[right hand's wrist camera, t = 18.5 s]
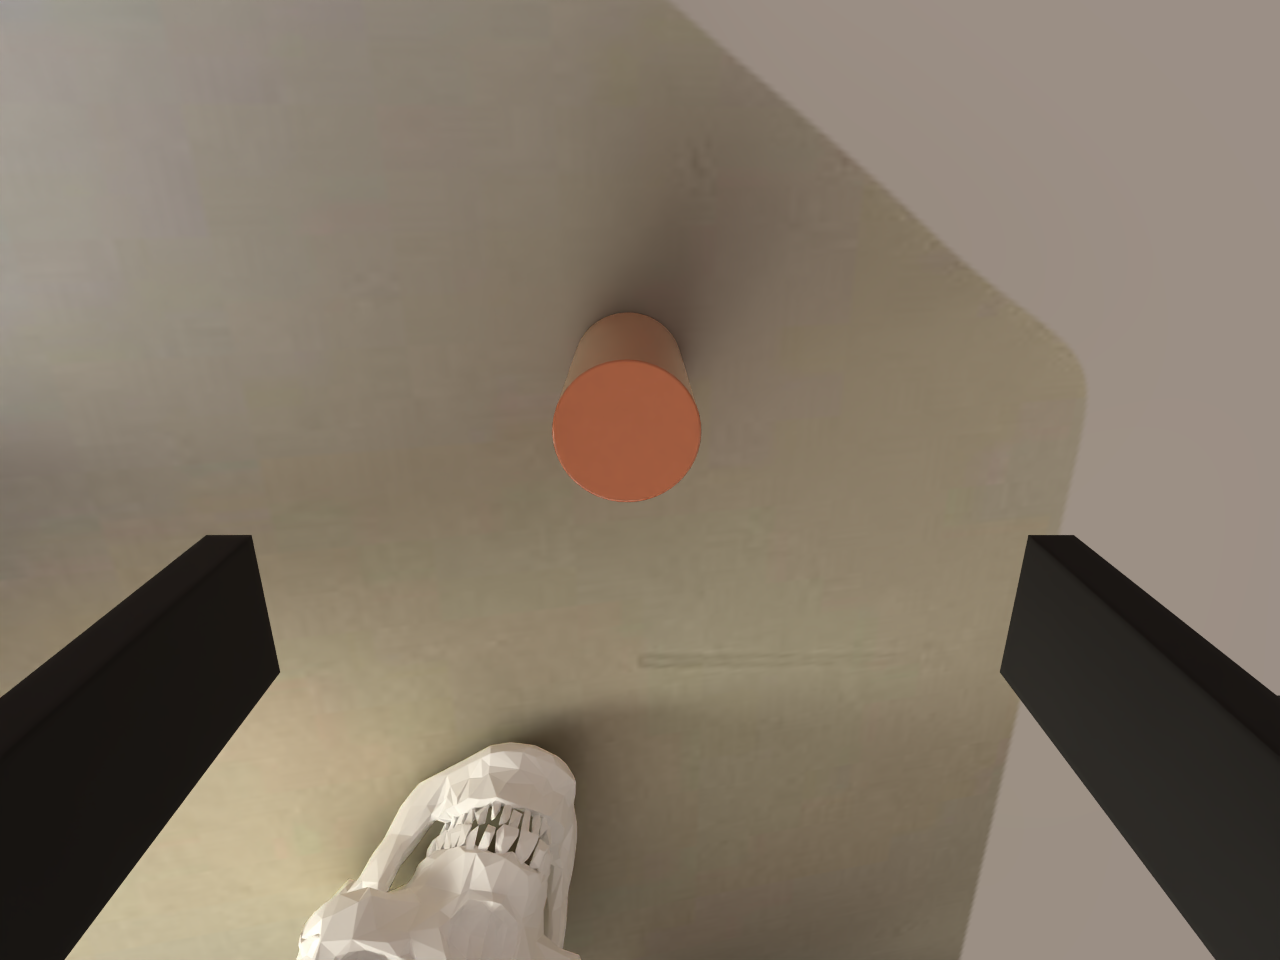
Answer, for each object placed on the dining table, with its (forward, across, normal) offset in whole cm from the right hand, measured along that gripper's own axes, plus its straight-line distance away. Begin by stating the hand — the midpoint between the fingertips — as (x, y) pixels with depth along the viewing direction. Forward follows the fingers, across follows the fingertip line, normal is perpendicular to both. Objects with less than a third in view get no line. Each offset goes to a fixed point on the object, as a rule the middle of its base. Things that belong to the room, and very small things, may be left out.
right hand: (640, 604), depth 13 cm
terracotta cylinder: (+19, 0, 0) cm, 19 cm away
